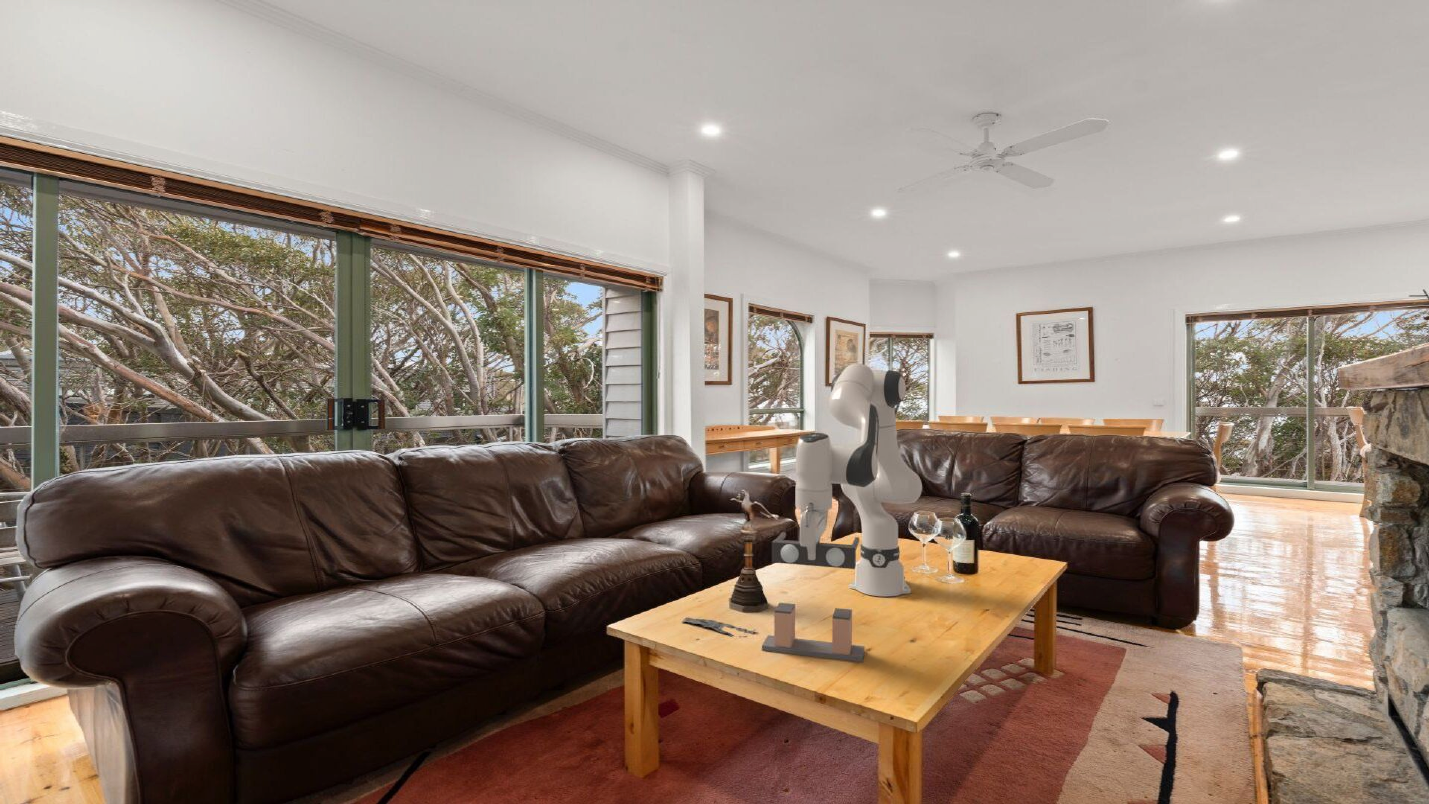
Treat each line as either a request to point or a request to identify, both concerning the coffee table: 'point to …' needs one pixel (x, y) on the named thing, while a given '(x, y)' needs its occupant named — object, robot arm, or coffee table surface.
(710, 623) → the driftwood
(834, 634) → the stand
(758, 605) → the bird statue
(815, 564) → the glasses
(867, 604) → the coffee table surface
